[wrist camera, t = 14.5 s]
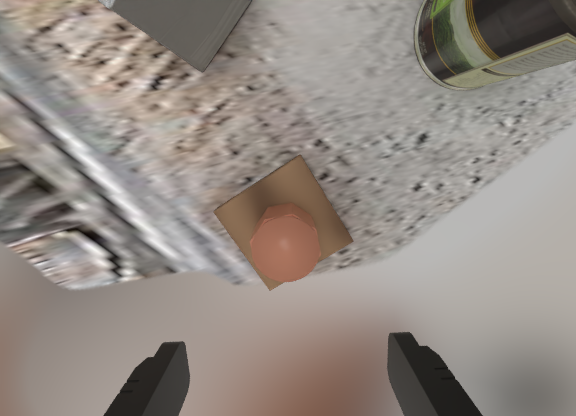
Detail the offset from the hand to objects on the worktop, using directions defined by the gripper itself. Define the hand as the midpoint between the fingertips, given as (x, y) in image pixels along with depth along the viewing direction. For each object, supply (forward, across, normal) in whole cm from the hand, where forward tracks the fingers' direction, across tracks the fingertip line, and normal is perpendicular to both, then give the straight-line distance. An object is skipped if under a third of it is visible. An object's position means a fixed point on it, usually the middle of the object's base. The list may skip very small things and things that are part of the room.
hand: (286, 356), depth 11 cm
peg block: (+19, 0, 0) cm, 19 cm away
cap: (+17, 0, 0) cm, 17 cm away
